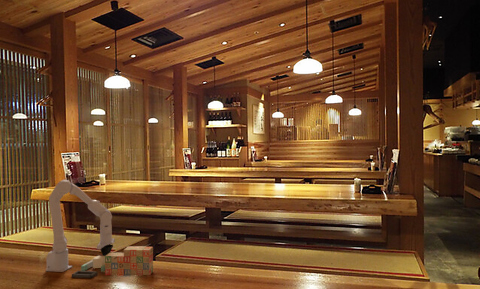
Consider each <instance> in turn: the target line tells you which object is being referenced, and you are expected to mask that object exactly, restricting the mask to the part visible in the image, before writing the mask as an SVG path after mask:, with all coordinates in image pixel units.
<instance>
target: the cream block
mask: <svg viewBox="0 0 480 289" xmlns="http://www.w3.org/2000/svg"><path fill="white" fill-rule="evenodd" d="M92 260H93V266H92V269H95V268H101V266H103V265H105V256H103V255H96V256H95V257H93V258H92Z"/></svg>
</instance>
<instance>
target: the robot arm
mask: <svg viewBox="0 0 480 289" xmlns="http://www.w3.org/2000/svg"><path fill="white" fill-rule="evenodd" d="M68 193H69V195H73V196H76V197H77V198H79V199H80V200H81V201H83V202H84V203H85V204H87V209H88V210H89V211H90V212H91V213H93V215H95V216H96V217H98V218H99V219H100V220H99V221H100V224H99V235H100V236H99V237H100V238H99V239H100V240H99V243H98V244H96V250H100V253H101V256H106V255H107V254H109V253H112V249H113V247H114V245H113V244H115V243H116V238H113V235H112V234H113V232H112V231H113V230H112V229H113V228H112V219H113V215H112V213H111V211H110V209H108V207H107V206H104V205H103V204H101V201H100V200H97V199H92V198H91V197H89V195H88V194H87V193H85V191H83V190H82V189H81V188H80V187H79V186H78V185H76V184H74V183H71V181H70V180H68V179H62V180H60V181H59V182H57V183H56V185H55V186H54V188H53V190H52V192H51V194H50V195H49V196H48V201H49V202H48V203H49V210H50V216H51V224H52V232H53V244H52V250H51V251H49V252H48V253H47V255H46V260H45V261H46V269H45V272H58V273H59V272H60V273H63V272H65V271H67V270H69V269H71V268H72V267H73V265H69V248H67V247H68V239H67V237H66V236H65V230H64V224H63V217H62V216H63V215H62V209H61V201H60V200H61V199H62V198H63V197H64V196H65V195H66V194H67V195H68Z"/></svg>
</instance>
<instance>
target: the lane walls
mask: <svg viewBox="0 0 480 289" xmlns="http://www.w3.org/2000/svg"><path fill="white" fill-rule="evenodd" d="M90 268H93V259H91V260H90V261H88V262H86V263H84V264H82V265H81V266H80V271H88V269H90ZM102 271H103V272H102ZM104 271H105V265H103V266H101V269H100V273H105V272H104Z"/></svg>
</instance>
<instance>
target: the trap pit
mask: <svg viewBox="0 0 480 289" xmlns="http://www.w3.org/2000/svg"><path fill="white" fill-rule="evenodd" d="M96 276H98V271H92V270H91V271H90V270H85V271H81V270H77V271H75V272H73V273H72V274H71V278H73V279H75V278H76V279H93V278H95V277H96Z"/></svg>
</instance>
